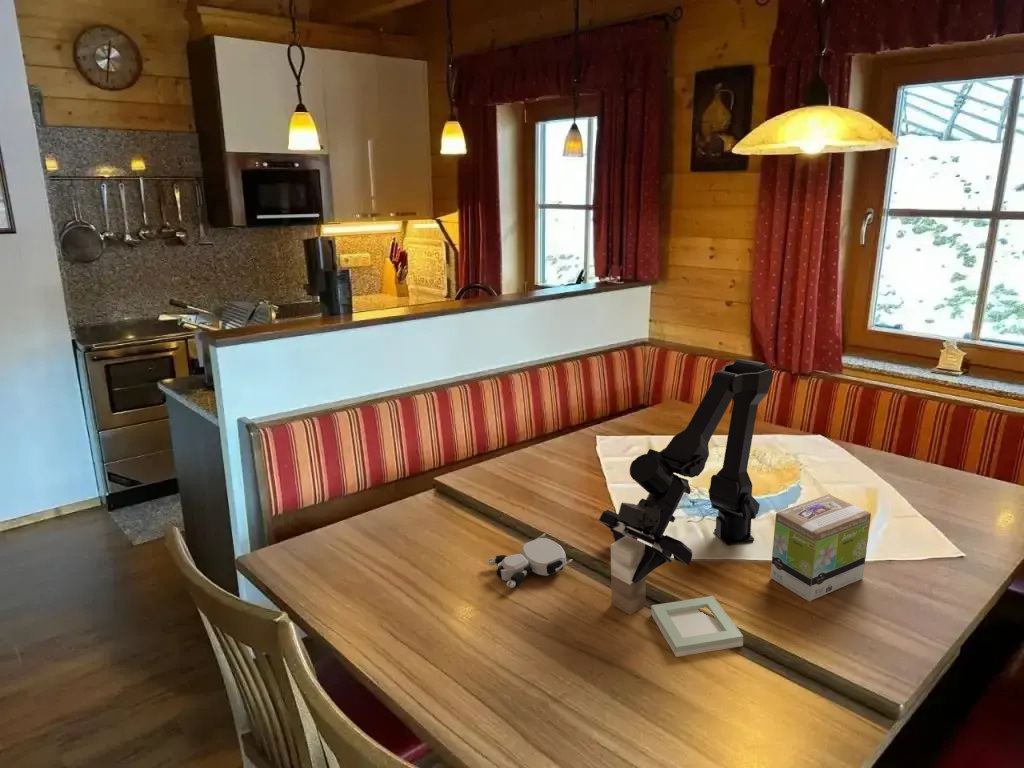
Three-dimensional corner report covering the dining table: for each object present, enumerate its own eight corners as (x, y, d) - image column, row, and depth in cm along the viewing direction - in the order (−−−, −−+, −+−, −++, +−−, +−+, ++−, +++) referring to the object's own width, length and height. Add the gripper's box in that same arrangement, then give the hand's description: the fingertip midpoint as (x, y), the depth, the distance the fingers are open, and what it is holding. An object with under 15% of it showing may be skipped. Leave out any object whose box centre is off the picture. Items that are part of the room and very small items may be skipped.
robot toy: (511, 601, 139) (577, 574, 144) (508, 581, 137) (574, 555, 143) (486, 571, 150) (549, 547, 155) (483, 552, 148) (546, 529, 153)
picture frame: (712, 605, 132) (712, 595, 131) (742, 645, 121) (743, 636, 120) (651, 614, 130) (651, 605, 130) (676, 657, 119) (676, 647, 118)
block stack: (627, 594, 137) (626, 535, 133) (645, 604, 133) (645, 543, 130) (611, 604, 134) (610, 544, 130) (630, 614, 131) (629, 553, 127)
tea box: (811, 604, 131) (816, 533, 126) (769, 578, 139) (772, 511, 135) (865, 579, 137) (872, 511, 133) (822, 556, 146) (827, 491, 141)
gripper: (603, 471, 136) (565, 543, 133) (683, 502, 122) (642, 583, 119) (630, 494, 143) (594, 563, 140) (709, 526, 129) (671, 603, 126)
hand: (623, 577), depth 131 cm, fingers closed on block stack, 4 cm apart
